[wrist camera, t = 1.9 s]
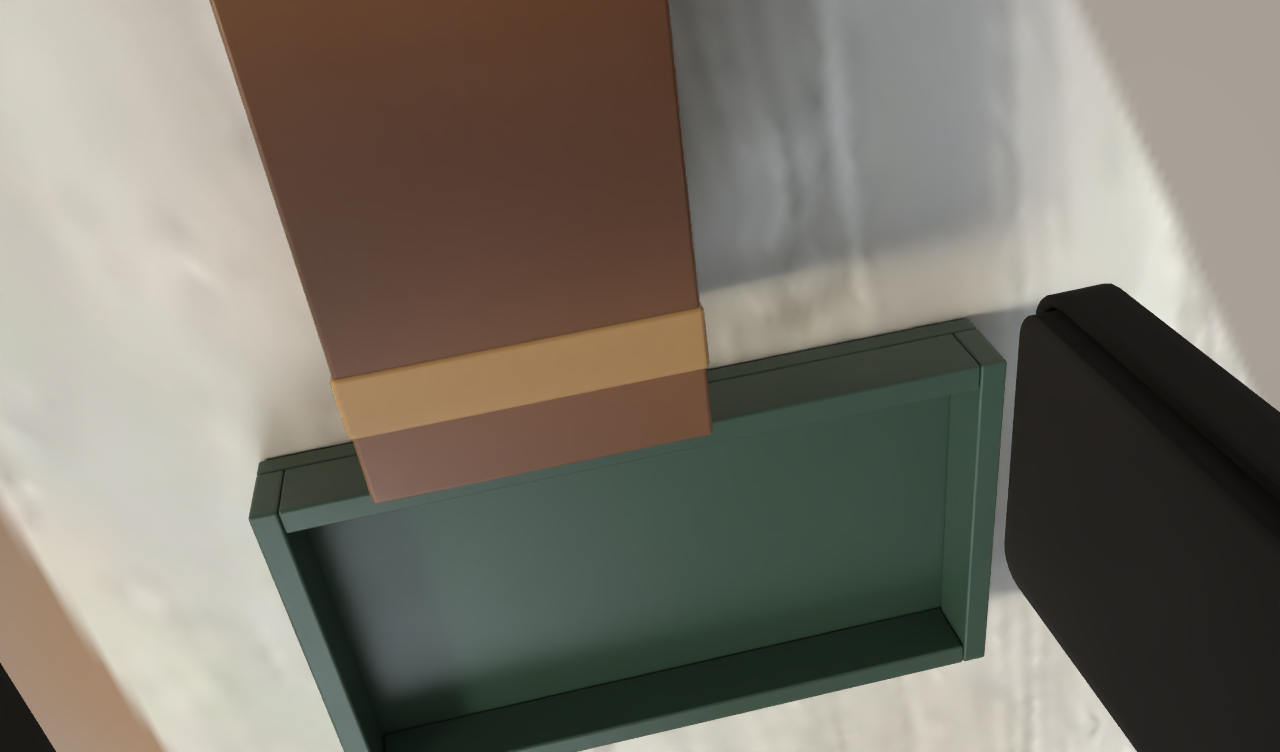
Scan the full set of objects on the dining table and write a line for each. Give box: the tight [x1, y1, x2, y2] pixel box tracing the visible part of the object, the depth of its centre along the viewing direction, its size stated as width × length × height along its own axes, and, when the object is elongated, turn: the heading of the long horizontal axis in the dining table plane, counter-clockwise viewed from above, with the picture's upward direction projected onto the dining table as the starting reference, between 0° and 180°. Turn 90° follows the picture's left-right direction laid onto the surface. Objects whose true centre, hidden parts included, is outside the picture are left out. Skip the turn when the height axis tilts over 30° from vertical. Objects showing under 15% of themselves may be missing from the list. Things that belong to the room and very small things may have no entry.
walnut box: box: [209, 0, 713, 504], centre depth 18 cm, size 11×6×5 cm, turn 7°
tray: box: [249, 318, 1007, 752], centre depth 26 cm, size 16×9×2 cm, turn 97°
